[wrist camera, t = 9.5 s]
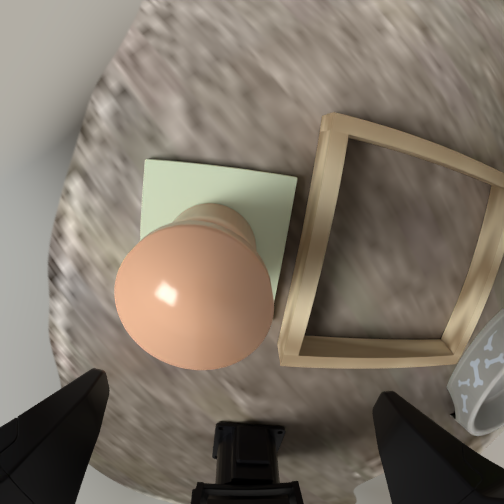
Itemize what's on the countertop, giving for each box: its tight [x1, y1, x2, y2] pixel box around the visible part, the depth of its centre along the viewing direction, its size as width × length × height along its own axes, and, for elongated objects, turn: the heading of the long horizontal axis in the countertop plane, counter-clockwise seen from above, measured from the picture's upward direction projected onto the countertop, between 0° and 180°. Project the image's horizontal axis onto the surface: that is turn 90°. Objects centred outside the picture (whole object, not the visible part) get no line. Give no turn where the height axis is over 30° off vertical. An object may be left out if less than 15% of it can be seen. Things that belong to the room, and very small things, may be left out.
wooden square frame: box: [277, 112, 504, 369], centre depth 19 cm, size 16×16×2 cm
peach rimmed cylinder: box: [115, 203, 274, 370], centre depth 15 cm, size 7×7×7 cm
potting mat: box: [140, 159, 297, 300], centre depth 19 cm, size 10×9×1 cm
